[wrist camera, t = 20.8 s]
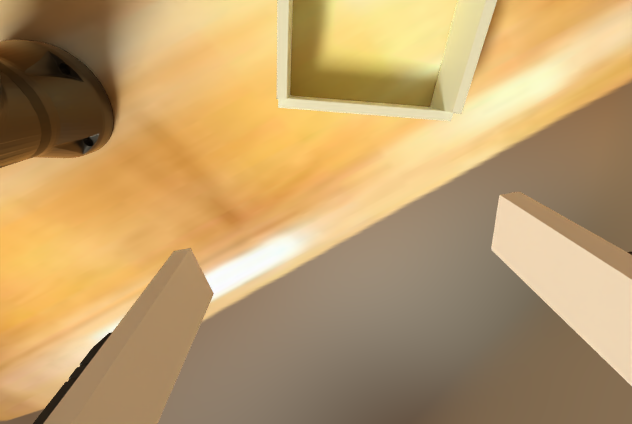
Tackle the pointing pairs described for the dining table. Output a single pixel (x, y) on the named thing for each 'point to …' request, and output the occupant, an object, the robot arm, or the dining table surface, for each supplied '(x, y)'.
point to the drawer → (446, 100)
